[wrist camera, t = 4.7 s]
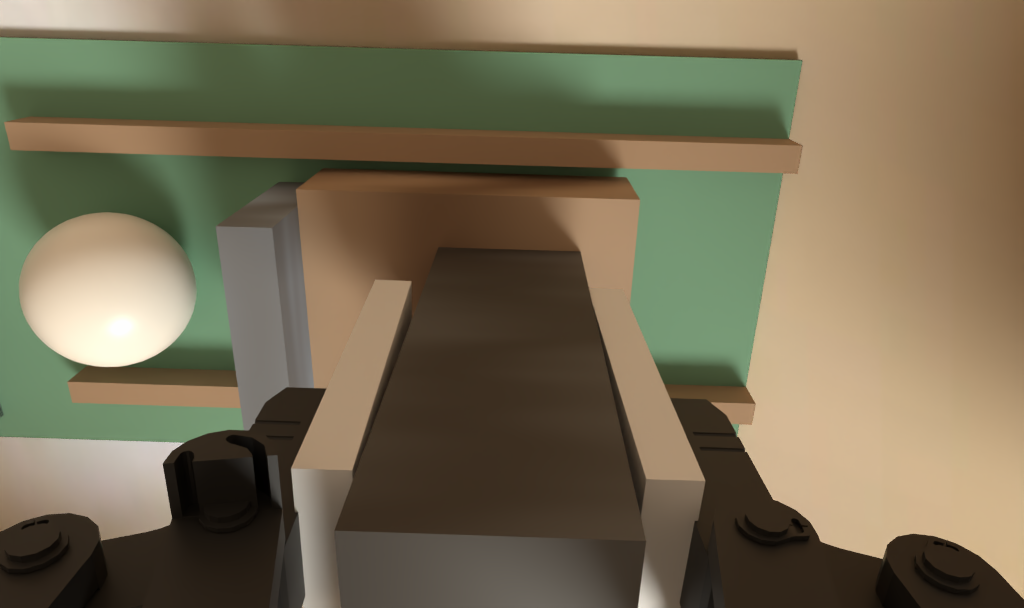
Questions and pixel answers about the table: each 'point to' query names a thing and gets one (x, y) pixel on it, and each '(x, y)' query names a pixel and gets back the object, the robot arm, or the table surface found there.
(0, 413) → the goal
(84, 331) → the ball
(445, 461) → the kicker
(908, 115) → the table surface
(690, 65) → the pitch
